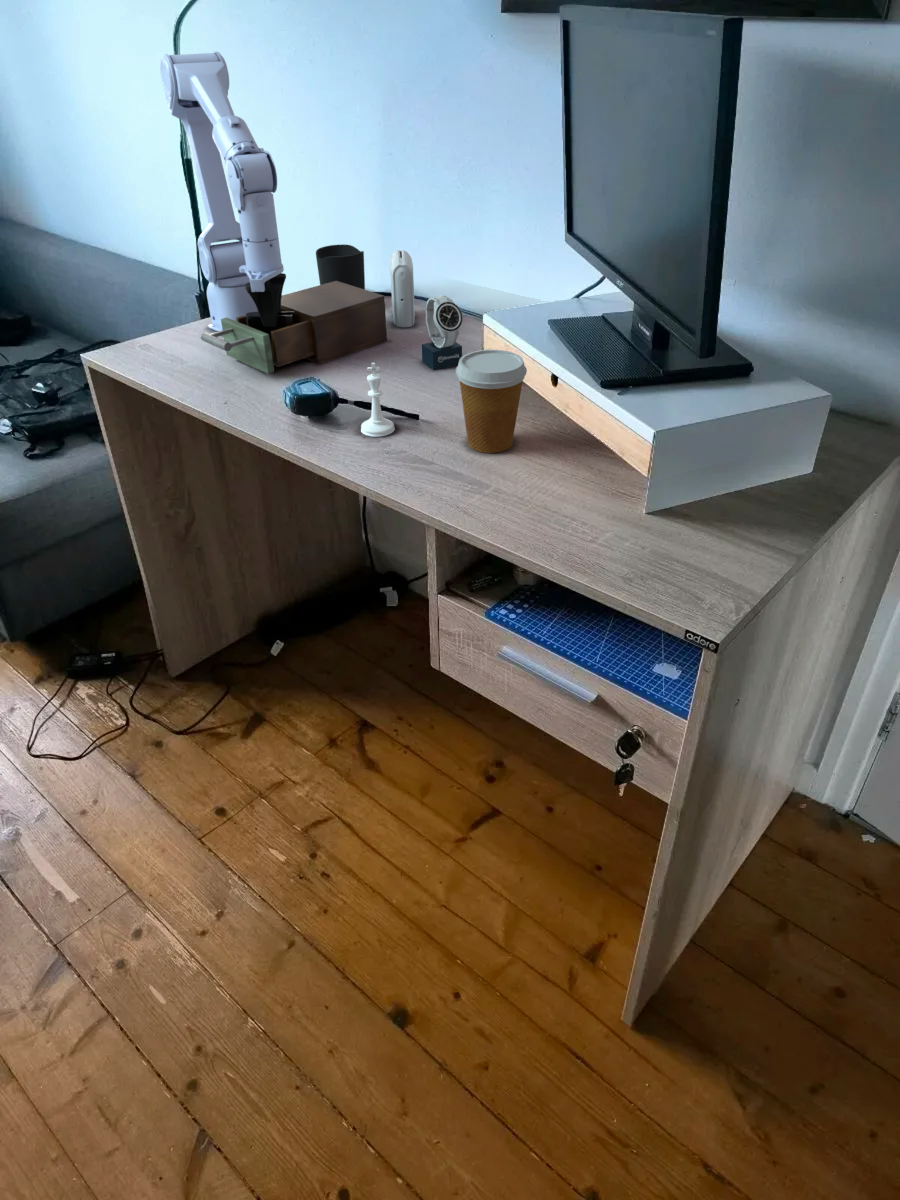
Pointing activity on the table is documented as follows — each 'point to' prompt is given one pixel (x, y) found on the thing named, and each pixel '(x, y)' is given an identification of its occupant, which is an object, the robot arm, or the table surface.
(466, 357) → the disposable coffee cup
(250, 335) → the drawer
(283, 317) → the tongs
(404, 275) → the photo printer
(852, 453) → the table surface
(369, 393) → the chess piece
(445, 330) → the watch
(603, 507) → the table surface
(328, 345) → the cabinet
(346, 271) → the pen holder
